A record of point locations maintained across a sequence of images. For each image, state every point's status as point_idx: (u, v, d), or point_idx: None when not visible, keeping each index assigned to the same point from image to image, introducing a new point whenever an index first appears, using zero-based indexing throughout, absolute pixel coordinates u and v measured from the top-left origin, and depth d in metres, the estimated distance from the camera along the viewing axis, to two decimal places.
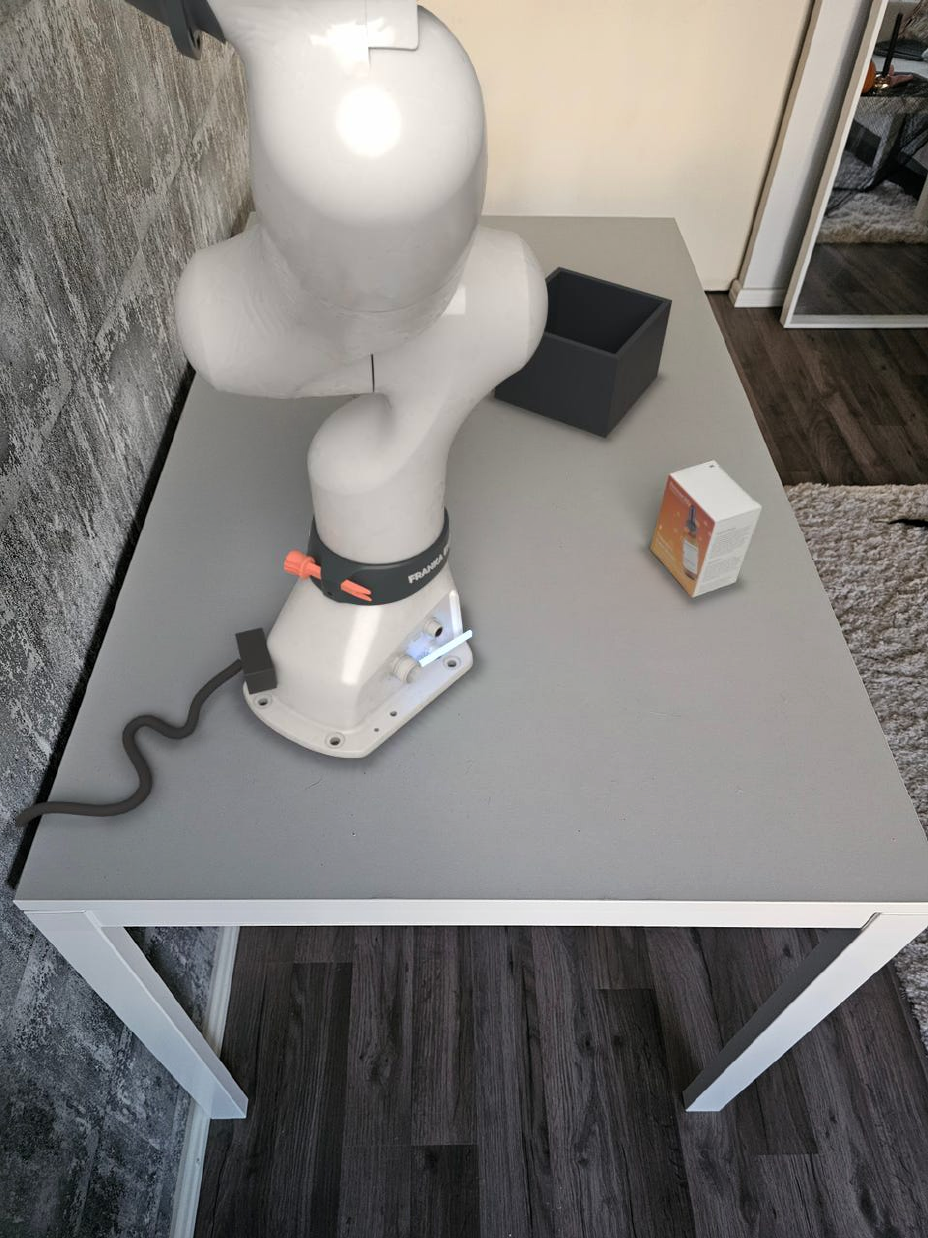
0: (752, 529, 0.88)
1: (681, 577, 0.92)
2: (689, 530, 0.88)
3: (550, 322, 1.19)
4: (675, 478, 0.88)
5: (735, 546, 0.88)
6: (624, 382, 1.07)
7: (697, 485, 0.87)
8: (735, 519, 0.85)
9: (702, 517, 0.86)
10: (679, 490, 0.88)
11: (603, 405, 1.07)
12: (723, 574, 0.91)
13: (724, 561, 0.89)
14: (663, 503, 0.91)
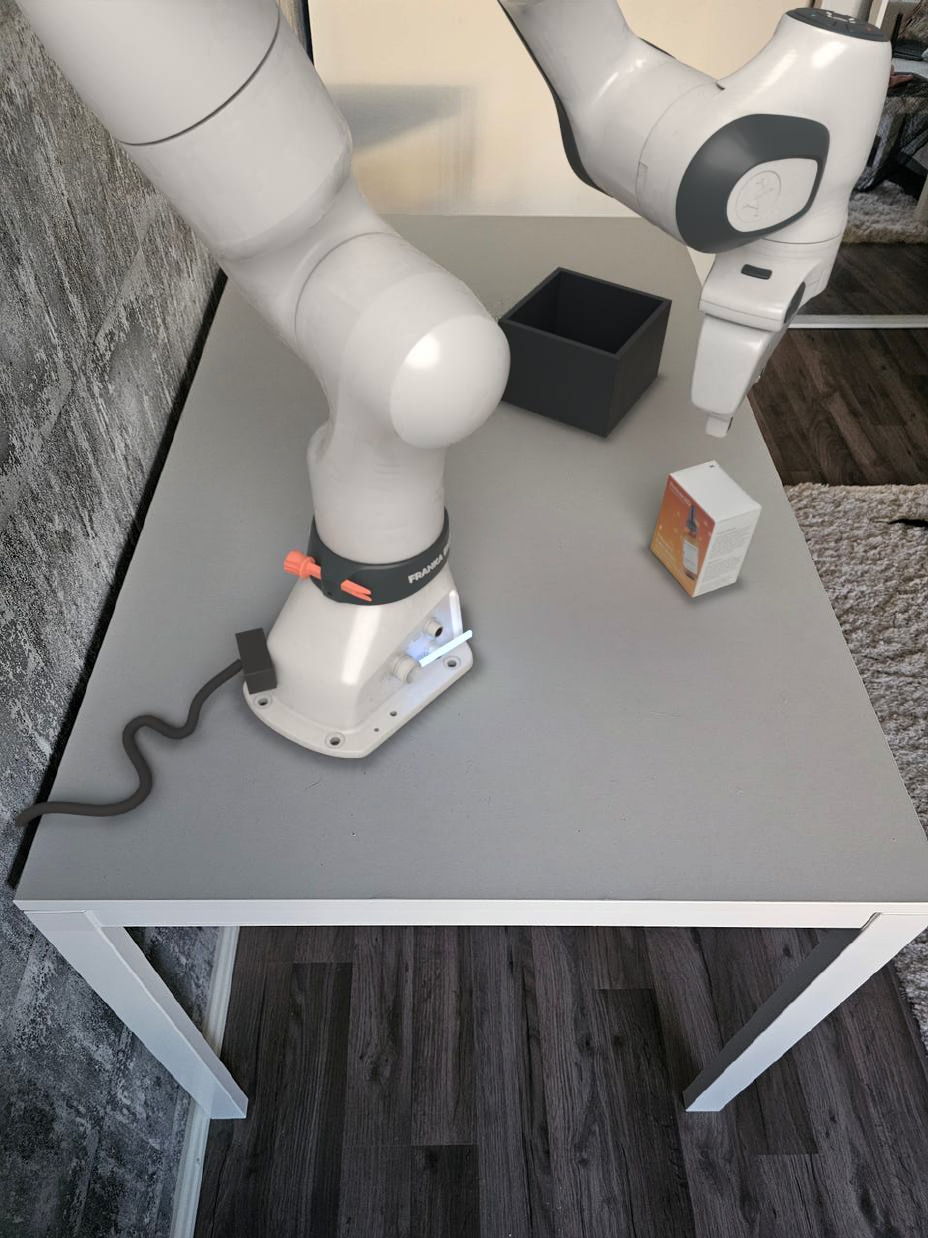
0: (752, 529, 0.88)
1: (681, 577, 0.92)
2: (689, 530, 0.88)
3: (550, 322, 1.19)
4: (675, 478, 0.88)
5: (735, 546, 0.88)
6: (624, 382, 1.07)
7: (697, 485, 0.87)
8: (735, 519, 0.85)
9: (702, 517, 0.86)
10: (679, 490, 0.88)
11: (603, 405, 1.07)
12: (723, 574, 0.91)
13: (724, 561, 0.89)
14: (663, 503, 0.91)
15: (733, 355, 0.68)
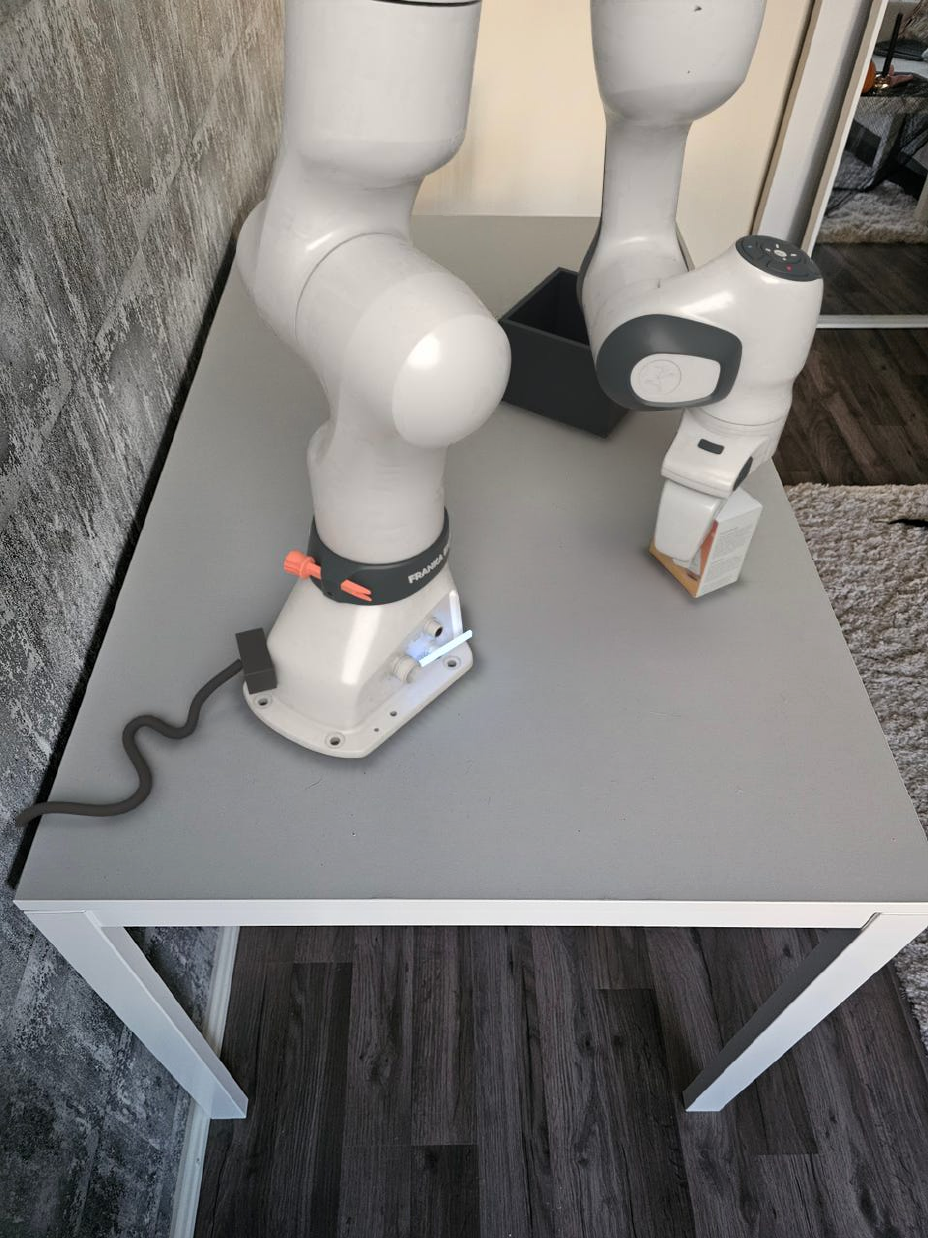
0: (753, 528, 0.88)
1: (683, 578, 0.92)
2: None
3: (550, 322, 1.19)
4: None
5: (737, 545, 0.88)
6: None
7: None
8: (737, 518, 0.85)
9: None
10: None
11: (603, 405, 1.07)
12: (725, 573, 0.91)
13: (726, 560, 0.89)
14: None
15: (689, 515, 0.79)
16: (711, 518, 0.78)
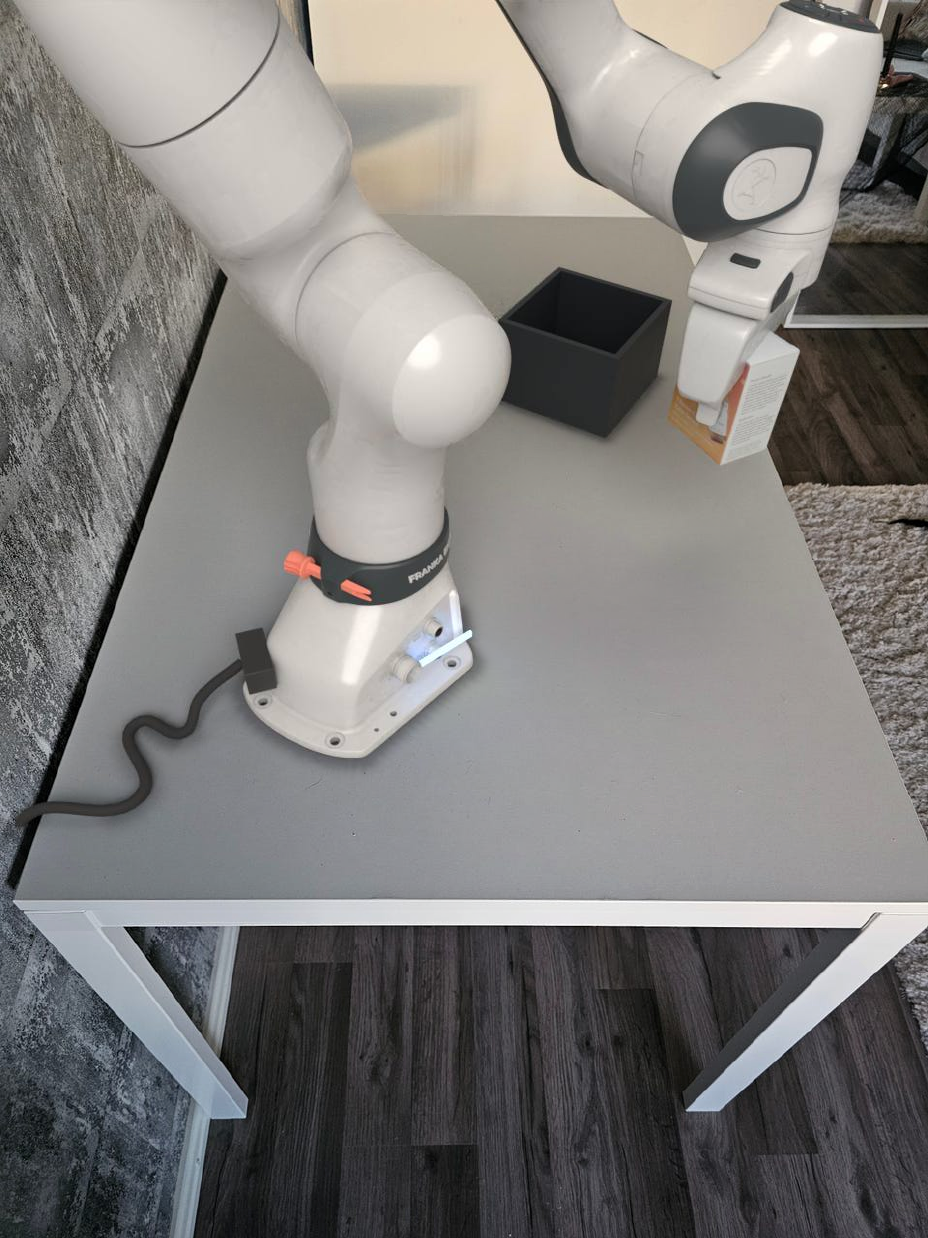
0: (788, 379, 0.77)
1: (706, 444, 0.82)
2: None
3: (550, 322, 1.19)
4: None
5: (769, 400, 0.78)
6: (624, 382, 1.07)
7: None
8: (771, 363, 0.75)
9: None
10: None
11: (603, 405, 1.07)
12: (753, 437, 0.81)
13: (755, 419, 0.79)
14: None
15: (719, 343, 0.68)
16: (744, 345, 0.68)
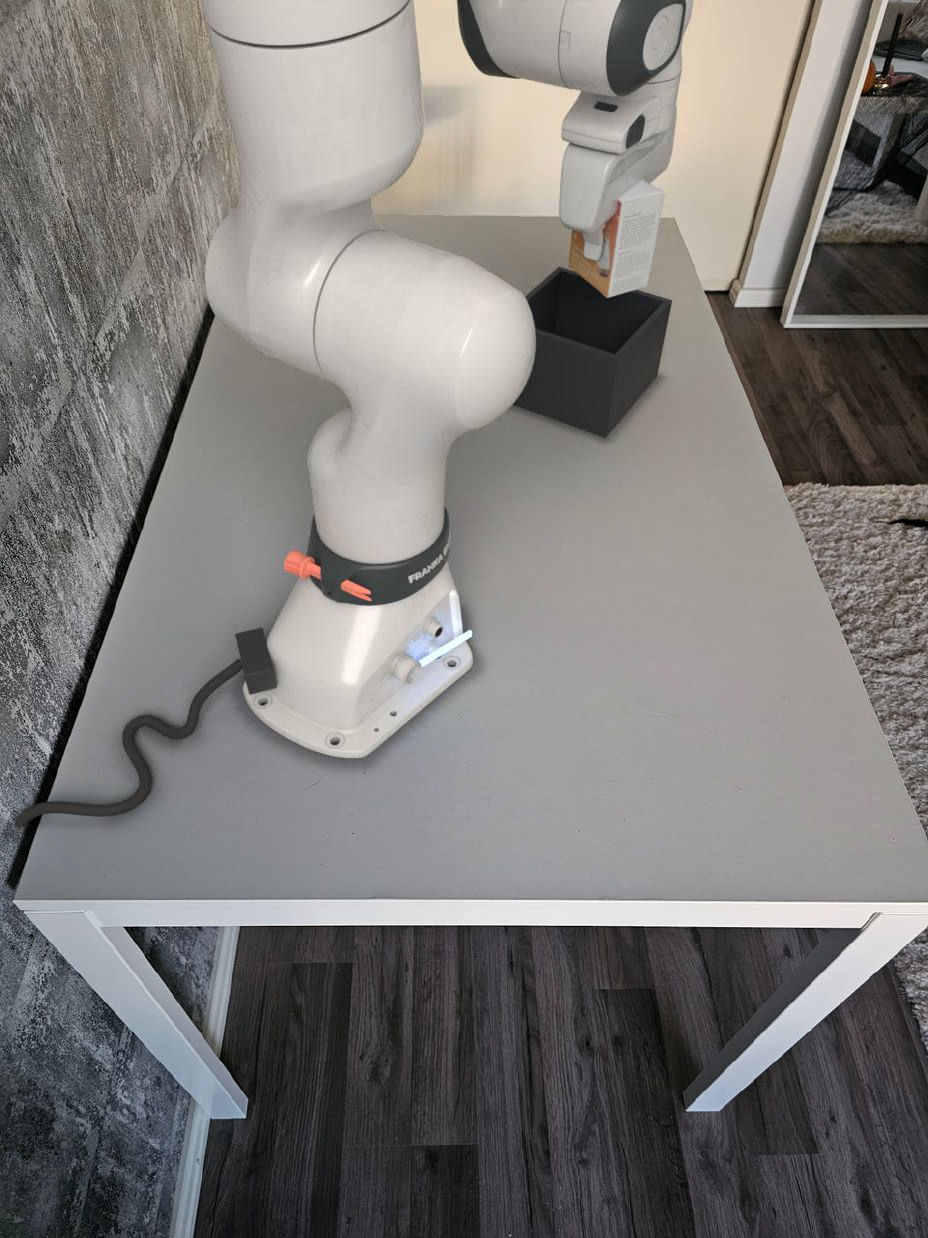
0: (657, 219, 0.94)
1: (596, 280, 0.99)
2: None
3: (550, 322, 1.19)
4: None
5: (643, 237, 0.95)
6: (624, 382, 1.07)
7: None
8: (640, 201, 0.92)
9: None
10: None
11: (603, 405, 1.07)
12: (634, 272, 0.98)
13: (633, 254, 0.96)
14: None
15: (587, 175, 0.85)
16: (607, 176, 0.85)
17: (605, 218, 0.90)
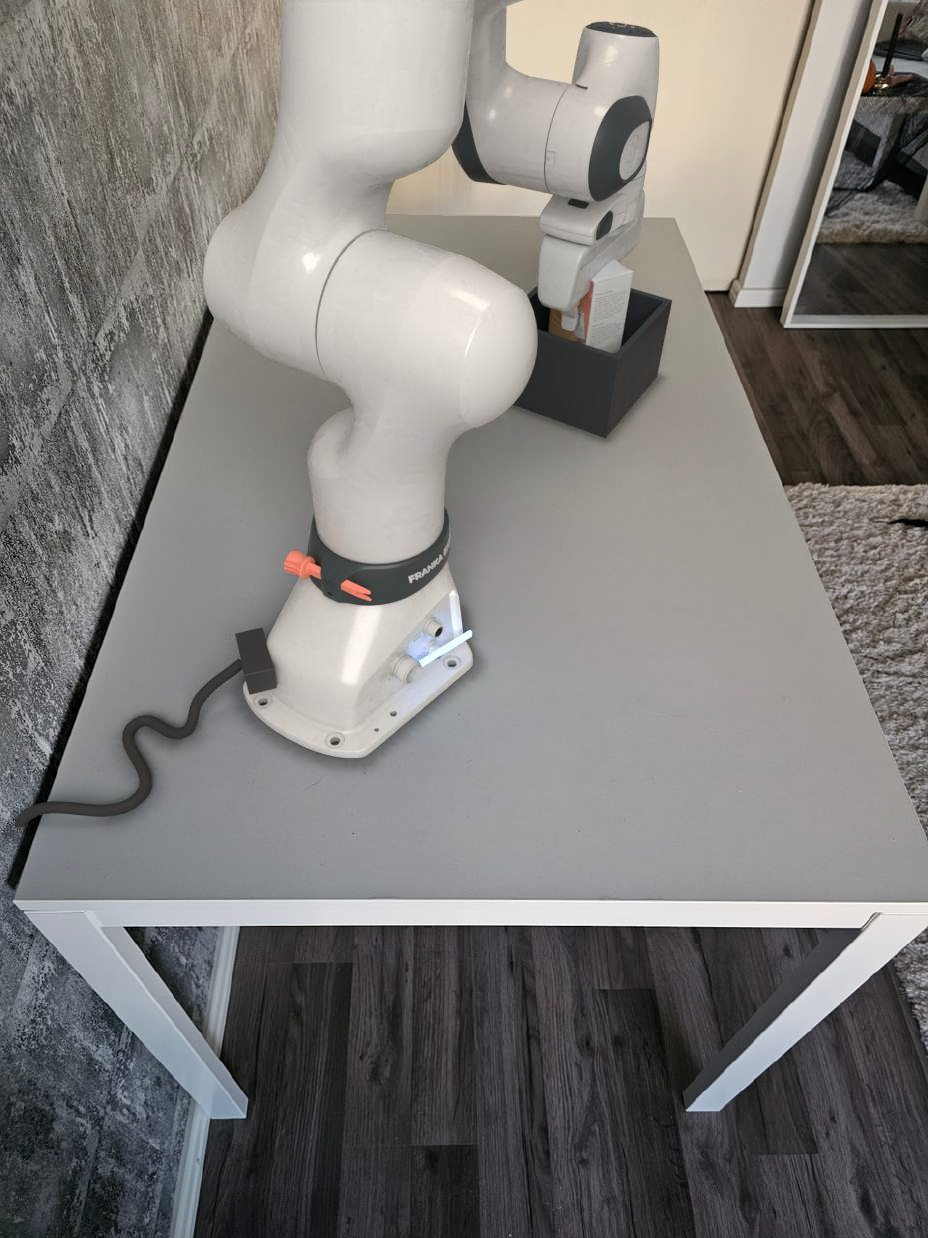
0: (627, 294, 1.05)
1: None
2: None
3: None
4: None
5: (614, 311, 1.05)
6: (624, 382, 1.07)
7: None
8: (611, 281, 1.02)
9: None
10: None
11: (603, 405, 1.07)
12: (607, 340, 1.08)
13: (606, 325, 1.06)
14: None
15: (562, 263, 0.96)
16: (580, 264, 0.95)
17: (579, 297, 1.00)
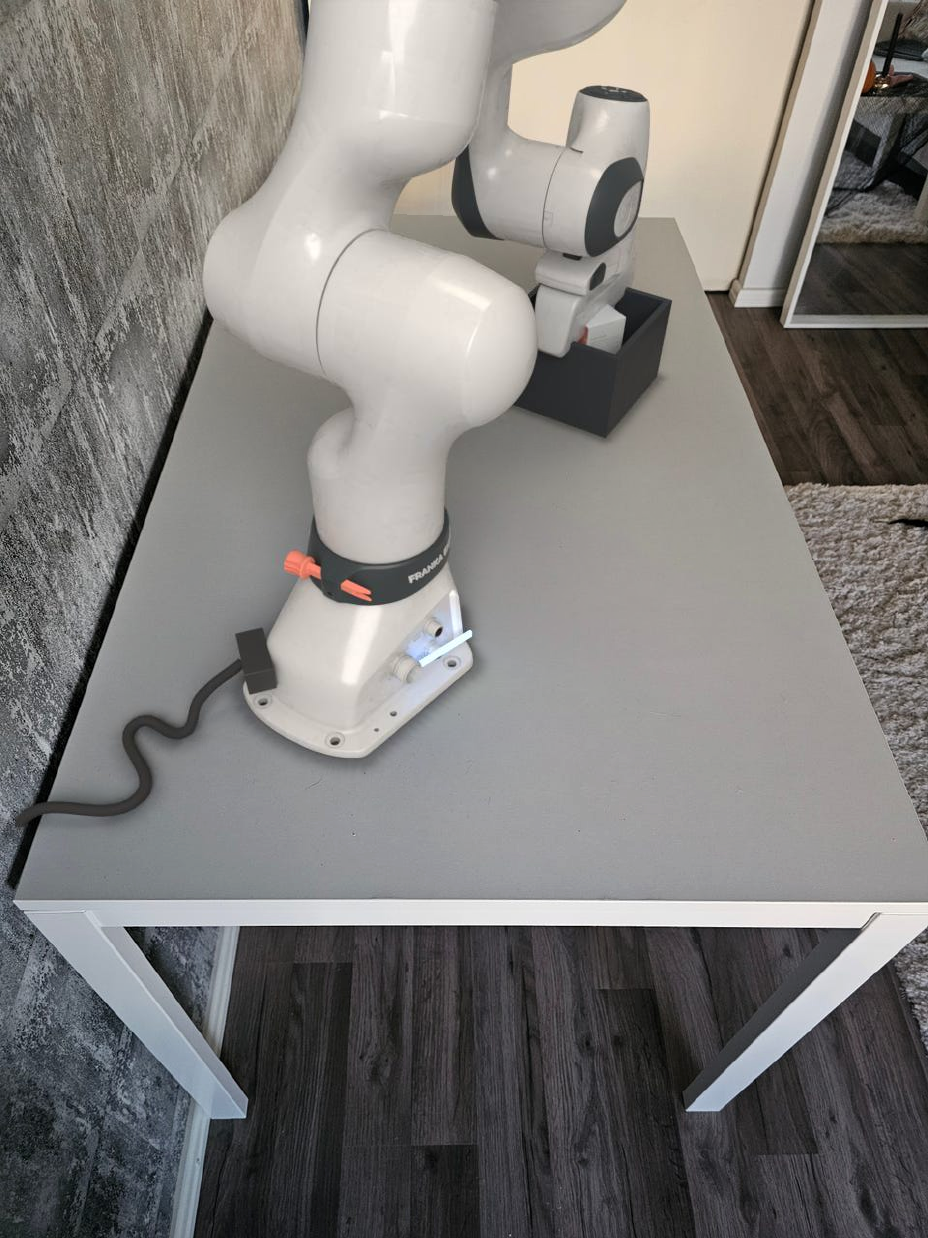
0: (620, 338, 1.09)
1: None
2: None
3: None
4: None
5: None
6: (624, 382, 1.07)
7: None
8: (605, 326, 1.06)
9: None
10: None
11: (603, 405, 1.07)
12: None
13: None
14: None
15: (557, 312, 1.00)
16: (574, 313, 0.99)
17: None
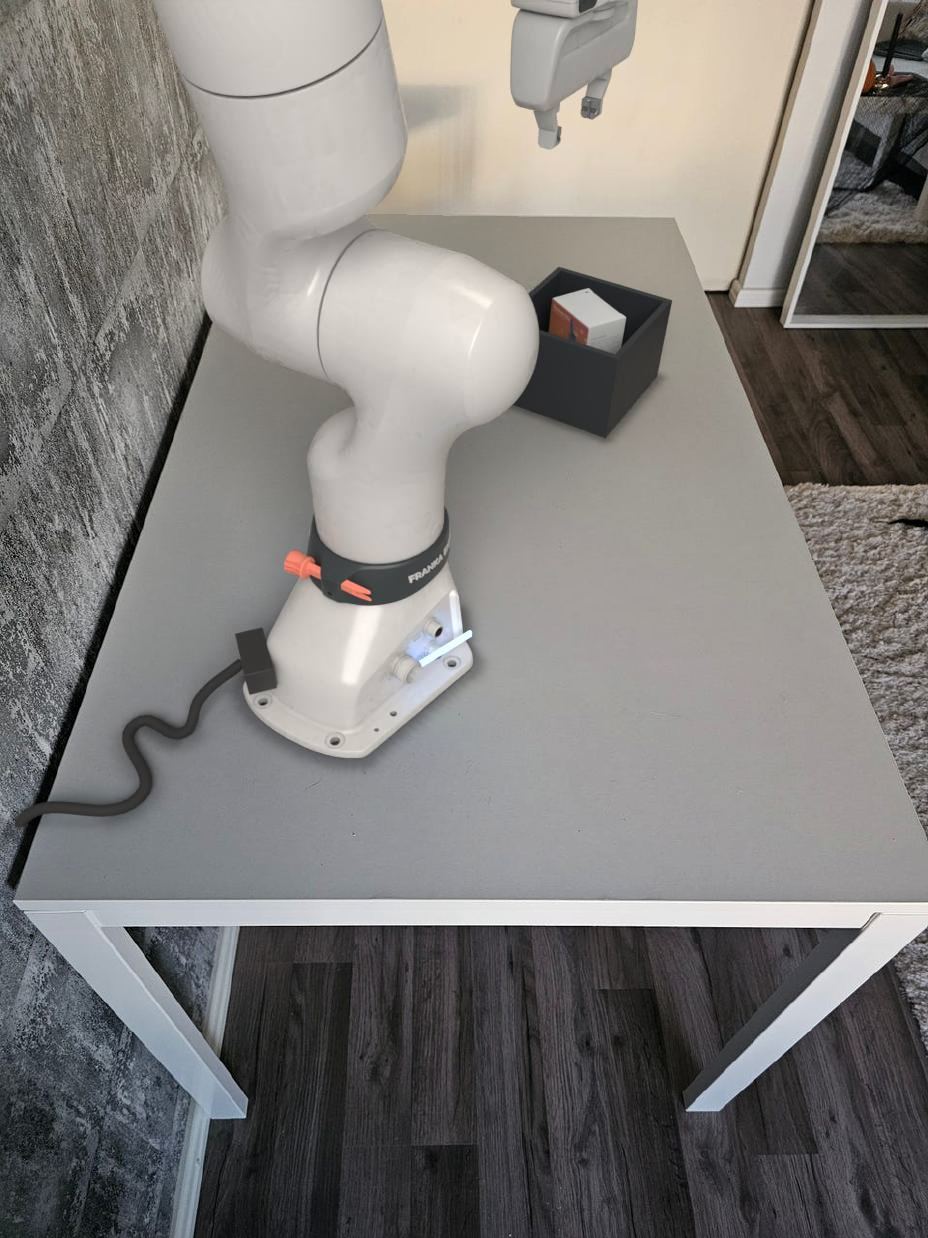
0: (620, 338, 1.09)
1: None
2: None
3: None
4: (557, 300, 1.09)
5: None
6: (624, 382, 1.07)
7: (575, 304, 1.08)
8: (605, 326, 1.06)
9: (579, 327, 1.07)
10: (561, 310, 1.09)
11: (603, 405, 1.07)
12: None
13: None
14: (550, 326, 1.12)
15: (538, 43, 0.80)
16: (560, 43, 0.79)
17: (560, 96, 0.84)
